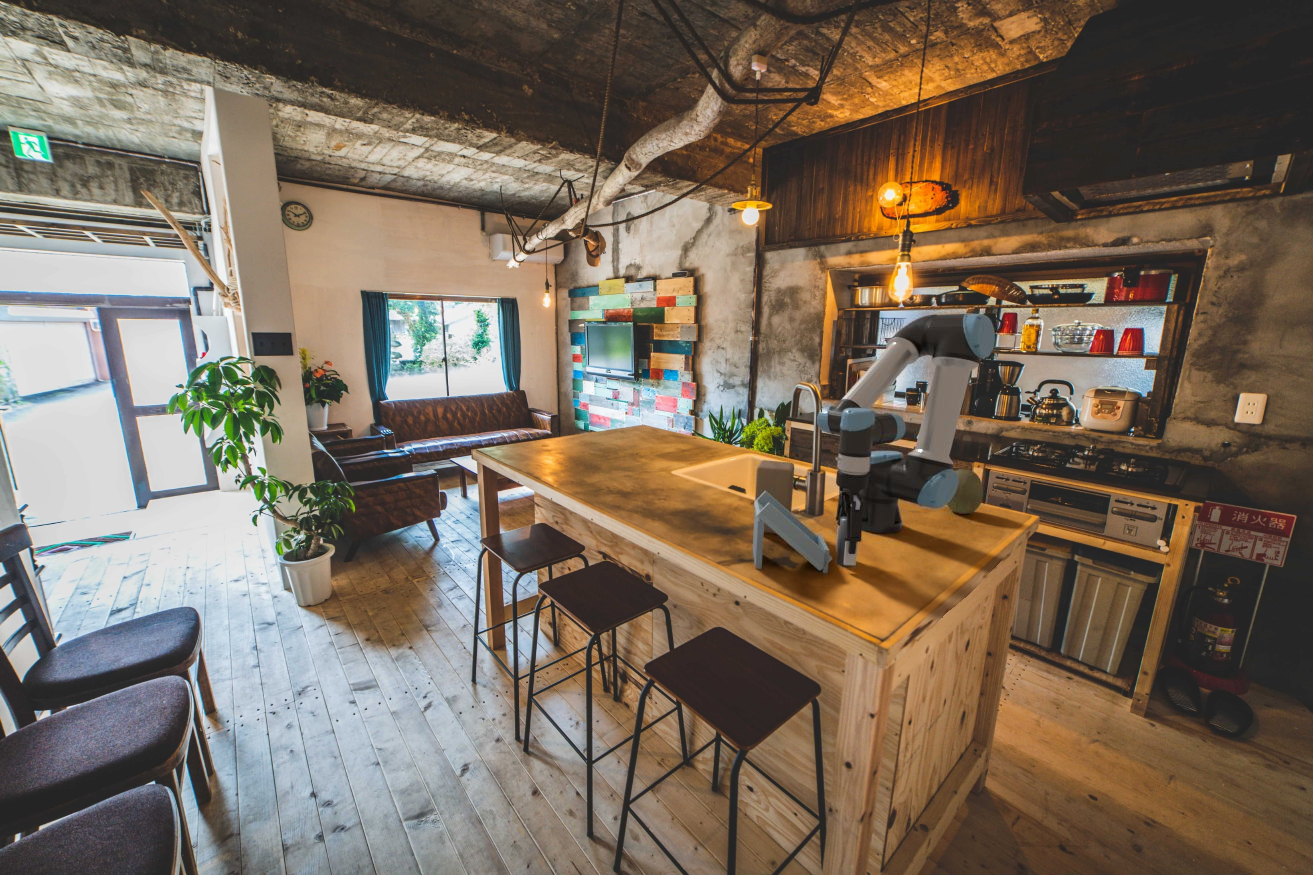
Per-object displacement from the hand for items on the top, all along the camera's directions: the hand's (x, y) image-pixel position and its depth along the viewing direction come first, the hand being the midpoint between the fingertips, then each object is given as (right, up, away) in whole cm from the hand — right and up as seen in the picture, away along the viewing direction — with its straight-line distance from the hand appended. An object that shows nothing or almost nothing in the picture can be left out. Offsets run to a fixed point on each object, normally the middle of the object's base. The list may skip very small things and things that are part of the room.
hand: (845, 557), depth 131 cm
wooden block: (-13, +3, +24) cm, 27 cm away
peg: (0, -2, 0) cm, 2 cm away
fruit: (+53, +5, +40) cm, 67 cm away
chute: (-14, -1, +1) cm, 14 cm away
